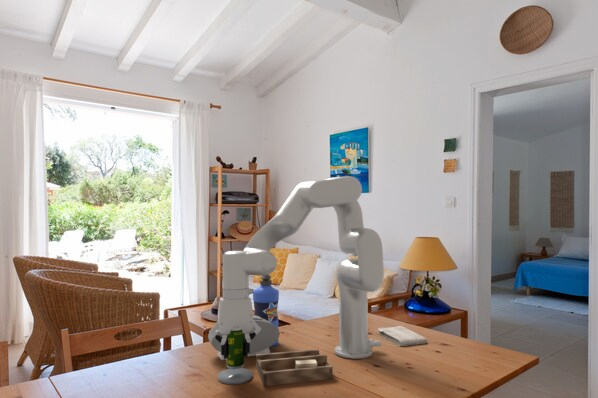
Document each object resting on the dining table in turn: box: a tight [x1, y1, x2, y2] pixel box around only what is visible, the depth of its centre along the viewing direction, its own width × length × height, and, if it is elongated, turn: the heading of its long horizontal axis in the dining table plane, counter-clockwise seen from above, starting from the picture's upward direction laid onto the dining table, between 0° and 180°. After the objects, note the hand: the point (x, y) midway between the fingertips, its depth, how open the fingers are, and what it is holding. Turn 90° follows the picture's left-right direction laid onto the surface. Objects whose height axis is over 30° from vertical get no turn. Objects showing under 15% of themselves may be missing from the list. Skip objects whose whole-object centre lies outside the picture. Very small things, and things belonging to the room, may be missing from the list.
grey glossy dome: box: [217, 367, 254, 385], centre depth 126 cm, size 10×10×1 cm
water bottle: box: [252, 274, 280, 349], centre depth 157 cm, size 9×9×25 cm
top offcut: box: [295, 360, 317, 369], centre depth 126 cm, size 6×3×2 cm, turn 97°
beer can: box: [225, 326, 246, 369], centre depth 126 cm, size 5×5×12 cm
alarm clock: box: [207, 314, 281, 361], centre depth 145 cm, size 23×6×13 cm, turn 113°
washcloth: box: [376, 325, 428, 347], centre depth 163 cm, size 12×18×3 cm, turn 20°
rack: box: [255, 348, 333, 387], centre depth 129 cm, size 20×14×5 cm
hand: (235, 355), depth 126 cm, fingers closed on beer can, 5 cm apart
